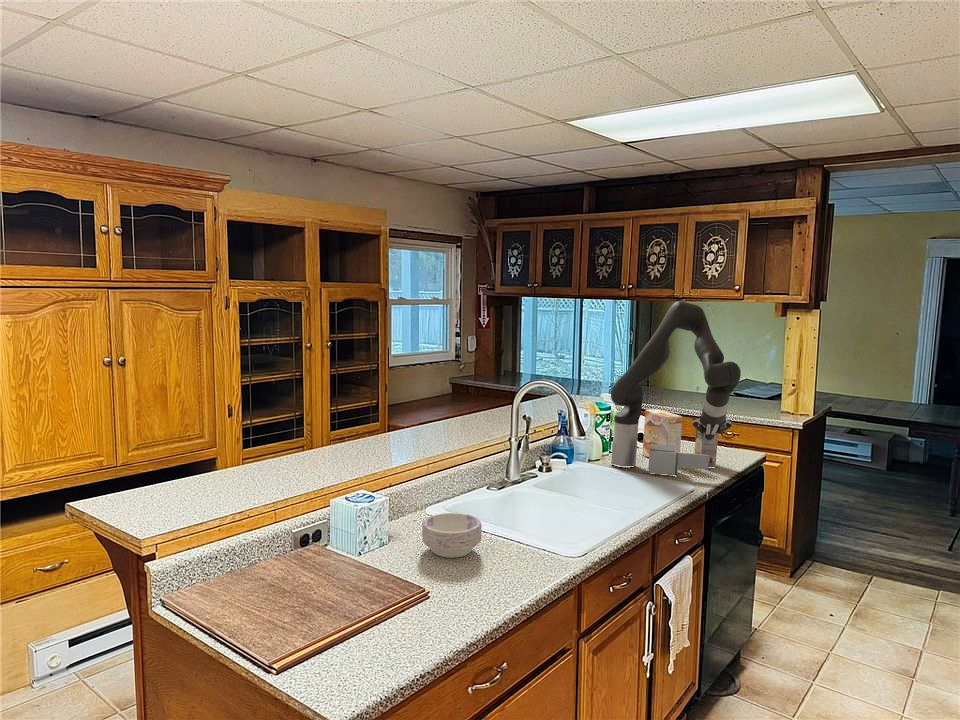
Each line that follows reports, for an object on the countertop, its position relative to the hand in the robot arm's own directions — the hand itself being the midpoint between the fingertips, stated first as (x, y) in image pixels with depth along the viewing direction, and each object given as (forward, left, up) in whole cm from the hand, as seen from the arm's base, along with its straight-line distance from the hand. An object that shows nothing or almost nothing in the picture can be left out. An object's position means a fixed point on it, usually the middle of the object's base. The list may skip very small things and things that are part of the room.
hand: (708, 438), depth 229 cm
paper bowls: (-68, -79, -19) cm, 106 cm away
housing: (-15, +19, -19) cm, 31 cm away
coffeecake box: (-15, +38, -19) cm, 45 cm away
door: (-9, +14, -19) cm, 25 cm away
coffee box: (+2, +36, -19) cm, 41 cm away
